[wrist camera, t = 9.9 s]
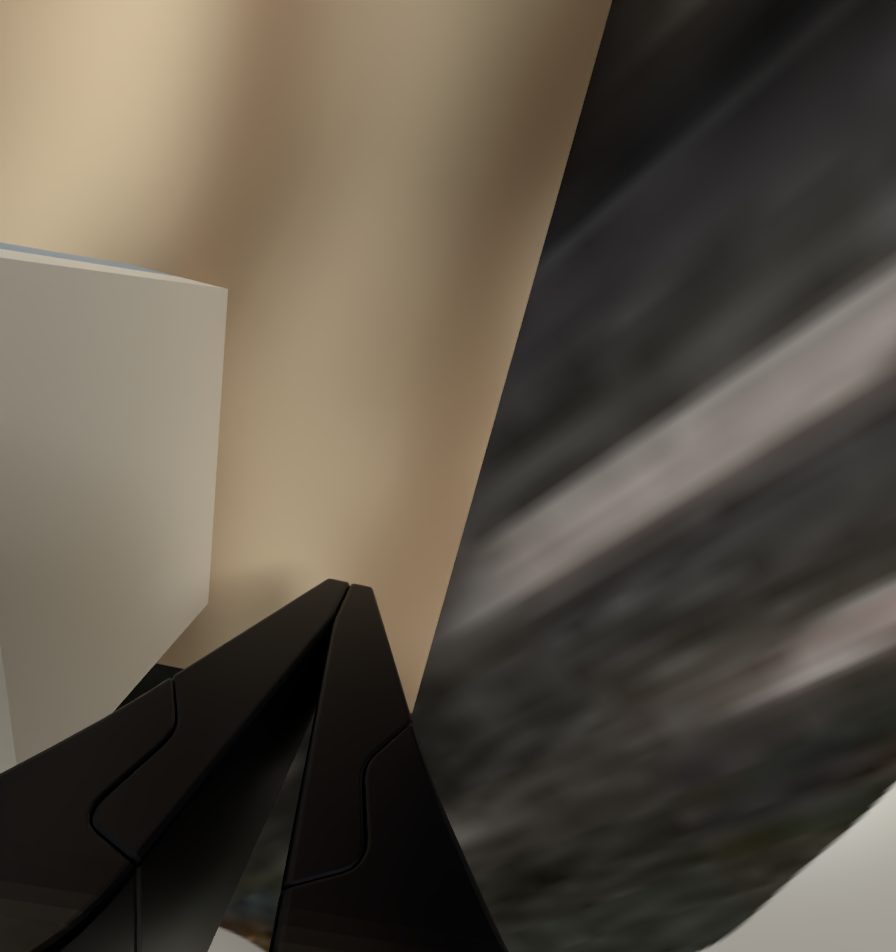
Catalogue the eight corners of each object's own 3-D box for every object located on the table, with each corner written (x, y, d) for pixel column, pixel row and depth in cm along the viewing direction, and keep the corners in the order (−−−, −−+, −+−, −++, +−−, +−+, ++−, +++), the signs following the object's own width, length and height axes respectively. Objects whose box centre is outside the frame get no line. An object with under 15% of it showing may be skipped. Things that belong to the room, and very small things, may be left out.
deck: (228, 289, 10) (-53, 250, 5) (208, 603, 13) (23, 815, 8) (132, 264, 10) (-278, 195, 4) (134, 588, 13) (-112, 792, 7)
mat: (672, -227, 8) (683, -255, 7) (413, 703, 15) (412, 713, 15) (-245, -547, 7) (-287, -600, 6) (-45, 613, 14) (-59, 621, 14)
